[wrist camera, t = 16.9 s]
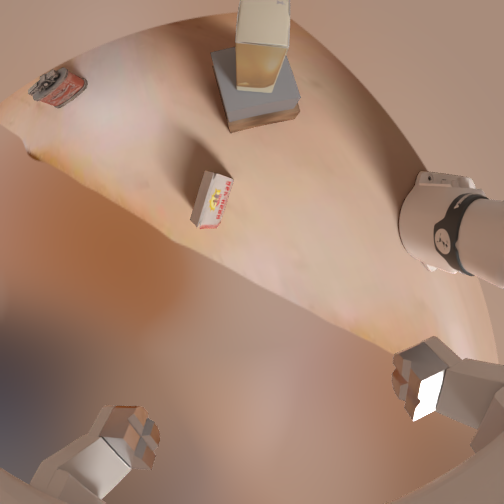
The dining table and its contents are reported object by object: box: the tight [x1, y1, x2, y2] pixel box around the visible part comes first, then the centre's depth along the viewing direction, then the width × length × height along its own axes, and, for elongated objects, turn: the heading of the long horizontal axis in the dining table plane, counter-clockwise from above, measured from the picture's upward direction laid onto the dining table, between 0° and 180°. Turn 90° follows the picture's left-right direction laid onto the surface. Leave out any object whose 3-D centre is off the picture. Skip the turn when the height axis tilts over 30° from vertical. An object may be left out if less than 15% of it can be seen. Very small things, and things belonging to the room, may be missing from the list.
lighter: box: [28, 68, 88, 108], centre depth 30 cm, size 8×3×10 cm, turn 111°
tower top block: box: [211, 47, 301, 122], centre depth 30 cm, size 9×9×5 cm
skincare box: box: [235, 0, 290, 93], centre depth 21 cm, size 6×4×12 cm
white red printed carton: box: [190, 171, 234, 229], centre depth 35 cm, size 4×7×10 cm, turn 162°
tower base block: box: [213, 65, 300, 133], centre depth 34 cm, size 10×10×5 cm
